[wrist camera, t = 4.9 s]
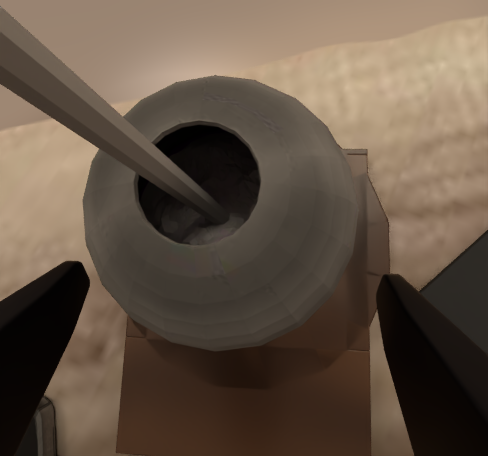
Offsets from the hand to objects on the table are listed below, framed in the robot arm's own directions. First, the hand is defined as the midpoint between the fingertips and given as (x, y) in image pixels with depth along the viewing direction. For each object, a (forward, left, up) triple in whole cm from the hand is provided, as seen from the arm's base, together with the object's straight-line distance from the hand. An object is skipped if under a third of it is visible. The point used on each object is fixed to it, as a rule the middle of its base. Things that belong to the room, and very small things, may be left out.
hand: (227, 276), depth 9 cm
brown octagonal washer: (0, 0, -11) cm, 11 cm away
